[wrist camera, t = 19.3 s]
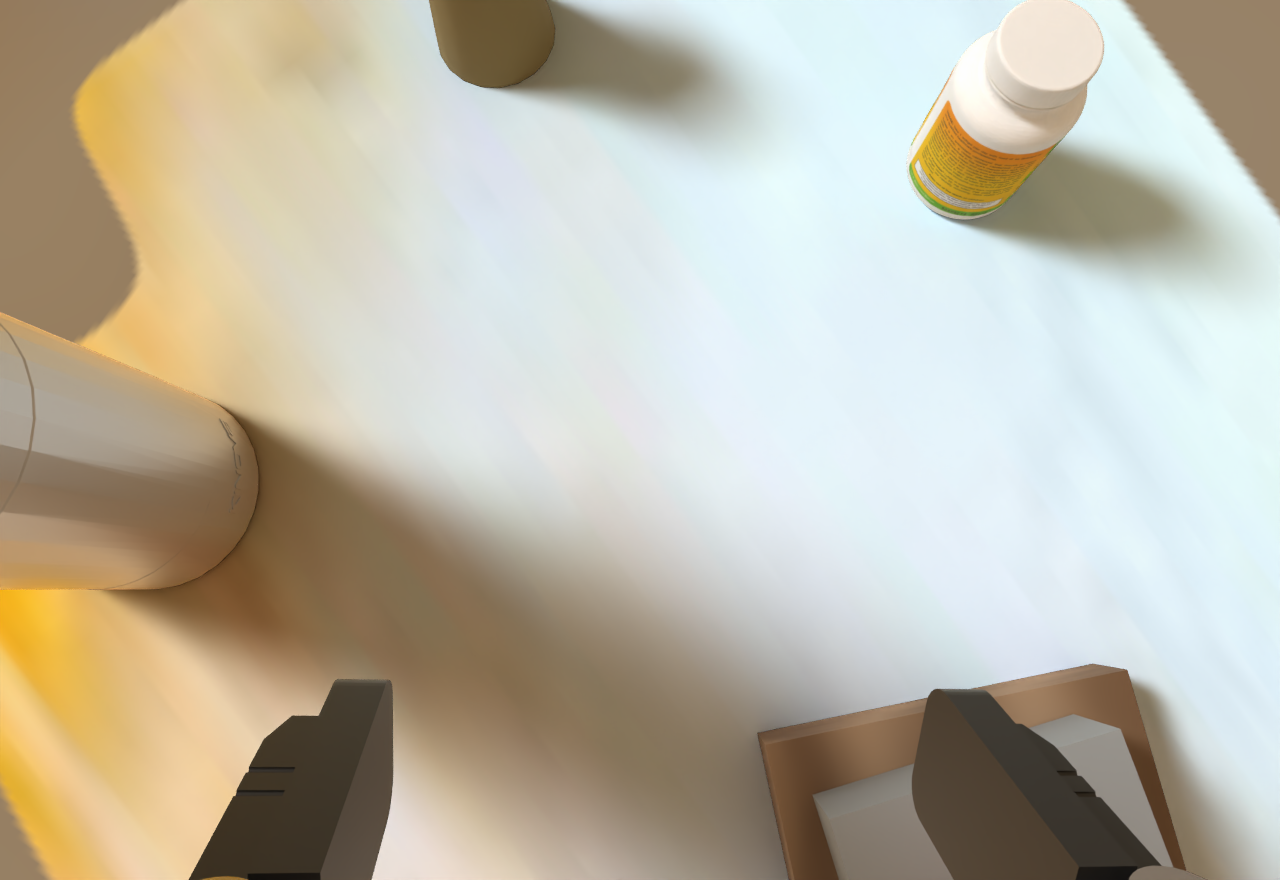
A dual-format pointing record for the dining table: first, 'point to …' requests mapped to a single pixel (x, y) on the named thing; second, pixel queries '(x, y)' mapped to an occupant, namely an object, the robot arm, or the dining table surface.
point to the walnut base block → (890, 742)
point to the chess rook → (493, 38)
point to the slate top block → (899, 845)
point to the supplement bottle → (1005, 108)
